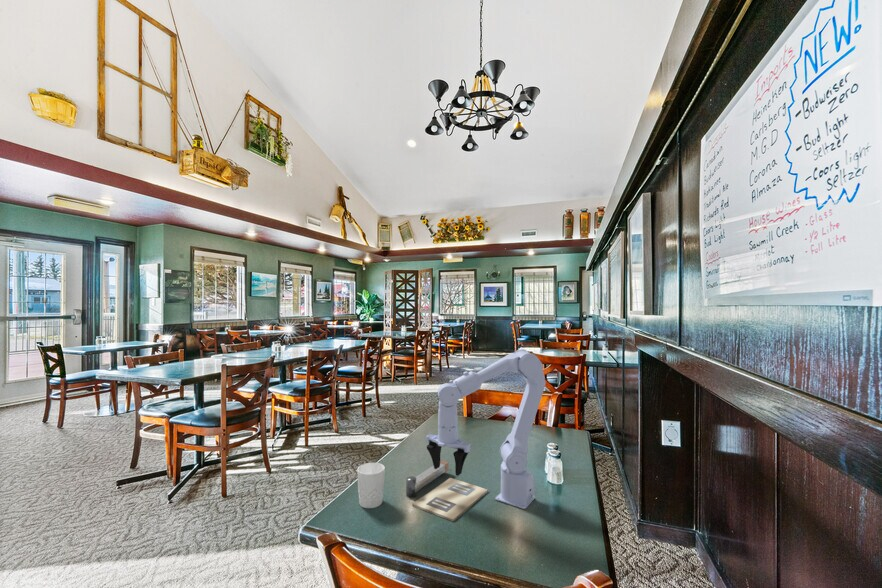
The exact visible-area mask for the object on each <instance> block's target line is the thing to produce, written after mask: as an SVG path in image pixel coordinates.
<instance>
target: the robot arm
mask: <svg viewBox="0 0 882 588" xmlns="http://www.w3.org/2000/svg"><path fill="white" fill-rule="evenodd" d="M543 367H544V364H543V363H542V361H541V360H540V359H539V357H538V356H537V355H536V354H533V353H531V352H529V351H528V350H526V349H517V350H515V351H514V352H511V353H509V354H507V355H504V357H501V358H499V360H496V361H494V362H493V363H491V364H489V365H488V366H486V367H485V368H483V369H481V370H479V371H478V372H475V371H471V370H470V371H469V372H468V371H467V370H466V371H464V372H463V375H461V376H459V377H457V378H455V379H450V380H449V382H446V383H443V384H441V385H440V386H439V388H438V389H437V397H438V400H439V401H438V409H437V411H438V412H437V435H436V434H427V435H425V442H426V443H428V444H427V445H426V450H427V451H428V453H429V455H430V457H431V461H432V464H433V465H434V469H437V468H439V467H440V460H441V453H442V448H444V447H447V448H452V449H455V451H454V452H453V453H452V454H453V458H454V463H455V465H454V466H455V469H454V471H455V475H456V476H457V477H459V476H460V475H461V474H462V472H463V468H464V464H465V461H466V458H467V456H468V455H469V452H470V451H471V450H472V449H471V448H472V446H471V445H472V444H471V443H469V442H466V441H464V440H461V439H459V438H458V407H457V406H458V405H457V404H458V402H459V400H460V399H463V398H464V397H468V395H470V394H472V393H474V392H476V391H478V390H480V389H481V388H482V384H483V383H484V382H486V381H489V380H491V379H493V378H495V377H498V376H500V375H502V374H504V373H507V372H508V373H509V372H510V373H516V374H518V373H520V374H521V376H522V378H523V380H524V381H525V383H526V385H525V389H524V391H523V395H522V398H521V402H520V404H519V406H518V410H517V413H516V415H515V416H516V417H515V419H514V422H513V424H512V428H511V432H510V433H509V434H507V436H506V438H505V441H504V442H502V444H501V446H500V448H499V455H500V457H501V458H502V461H501V464H500V493H499V494H497V495H496V496H495V498H494V499H495V500H496V501H498V502H501V503H504V504H507V505H510V506H514V507H516V508H520V509H522V510H526V509H527V508H528V506H530V505H531V503H532V502H533V501H534V499H536V496H535V476H534V474H533V473H532V472H530V471H528V470H527V469H526V468H527V466H528V459H527V457H528V453H529V447H528V440H529V437H530V434H531V431H532V428H533V424H534V421H535V419H536V415H537V412H538V409H539V406H540V403H541V400H542V398H543V394H544V390H545V389H546V388H545V387H546V378H545V373H544V370H543V369H544V368H543ZM433 465H432V466H433Z"/></svg>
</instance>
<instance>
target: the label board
mask: <svg viewBox="0 0 882 588" xmlns="http://www.w3.org/2000/svg"><path fill="white" fill-rule="evenodd" d="M488 492H489V489H487V488H484V487H481V486H478V485H474V484H472V483H468V482H466V481H462V480H458V479H455V478H452V477H449V478H448V479H446V480H445V481H443V482H442V483H440V484H439V485H438V486H436V487H434V488H433V489H431V490H430V491H429V492H427V493H426V494H424V495H422V497H420V498H419V499H418V498H417V500H415V501H414V502H412V503H411V504H412V505H411V506H412V507H414V508H417V509H419V510H422V511H425V512H428V513H430V514H432V515H434V516H437V517H440V518H443V519H446V520H448V521H450V522H455V521H456V520H457V519H458V518H460V517H461V516H462V515H463V514H464V513H465V512H467V511H468V509H470V508H471V507H472V506H473V505H474V504H476V503H477V502H478V501H479V500H480V499H481V498H482V497H484V496H485V495H486V494H487V493H488Z"/></svg>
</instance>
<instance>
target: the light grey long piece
mask: <svg viewBox="0 0 882 588" xmlns="http://www.w3.org/2000/svg"><path fill="white" fill-rule="evenodd" d="M449 468H450V467H449V462H448V461H445V460H441V459H440V467H439V468H437V469H434V465H432V466H430V467H428V468H426V469H425V470H424V471H422V472H421V473H419V474H418V475H416V476H407V477H406V479H405V481H406V482H405V484H406V485H405V487H406V489H405V496H406V497H407V498H415V497H416V496H417V492H418V491H420V490H421V489H422V488H424V487H425V486H427V485H428V484H430V483H432V482H433V481H434V480H436V479H437V478H438V477H440V476H441V475H443V474H444V473H446V472H448V471H449Z"/></svg>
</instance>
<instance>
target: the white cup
mask: <svg viewBox="0 0 882 588" xmlns="http://www.w3.org/2000/svg"><path fill="white" fill-rule="evenodd" d="M385 471H386V468H385V465H384V464H382V463H379V462H368V463H363V464H361V465H359V466H358V467H357V492H358V503H359V504H358V505H359V506H360V507H362V508H364V509H375V508H377V507H378V508H379V507H380V506H381V505H382V504H383V500H384V499H383V498H384V486H385V473H386V472H385Z"/></svg>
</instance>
